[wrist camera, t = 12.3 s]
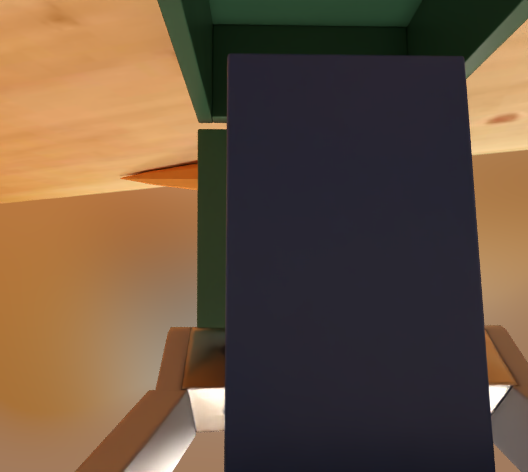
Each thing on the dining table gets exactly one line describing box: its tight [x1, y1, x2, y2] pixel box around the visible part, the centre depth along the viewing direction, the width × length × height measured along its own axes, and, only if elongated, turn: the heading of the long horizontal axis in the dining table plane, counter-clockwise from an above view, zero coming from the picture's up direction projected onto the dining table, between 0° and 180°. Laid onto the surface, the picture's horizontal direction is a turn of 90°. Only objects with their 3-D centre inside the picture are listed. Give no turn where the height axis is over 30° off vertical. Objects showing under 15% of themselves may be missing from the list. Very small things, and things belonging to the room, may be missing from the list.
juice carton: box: [224, 53, 495, 472], centre depth 9 cm, size 4×5×14 cm
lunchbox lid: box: [197, 129, 227, 328], centre depth 24 cm, size 15×13×5 cm
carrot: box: [120, 163, 198, 190], centre depth 51 cm, size 20×4×4 cm, turn 113°
